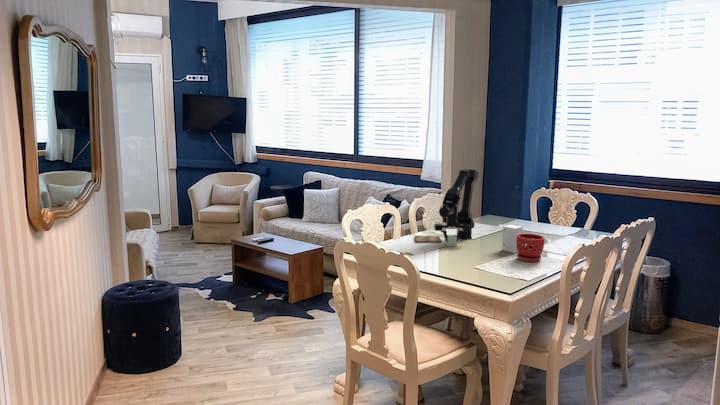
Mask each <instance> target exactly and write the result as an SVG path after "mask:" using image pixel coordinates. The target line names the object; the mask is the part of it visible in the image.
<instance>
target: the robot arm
mask: <svg viewBox="0 0 720 405" xmlns="http://www.w3.org/2000/svg"><path fill="white" fill-rule="evenodd" d="M458 172H459V173H458V176H457V177H456V180H455V182H454V183H453V185H452V187H450V188H449V189H447V191H446V193H445V194H444V198H443V200H442V207H441V208H440V209H439V211H438V213H439V216H440V217H441V218H442V223H434V225H433V227H434V231H437V232H438V231H439V232H440V233H442V234H443V236H444V240H445V244H446V243H447V235H448V234H447V229H448V230H449V229H450V230H455V229H456V234H455V235H456V236H457V242H458V240H459V238H460V239H461V240H462V239H463V240H464V239H465V240H466V239H468V240H469V239H471V240H472V239H473V238H472V229H474V228H475V225H476V224H475V221H474V219H473V214H472V211H471V206H472V199H473V191H474V185H475V184H476V183H477V181H478V178H479V171H478V169H473V168H472V169H471V168H465V169H461V170H459V171H458ZM463 187H464V189H463ZM462 189H463V196H462V195H461V191H462ZM461 196H462V198H461ZM461 199H462V203H461V209H460V211H459V210H458V209H459V205H460V203H459V202H460V200H461ZM444 223H445V225H443V224H444Z"/></svg>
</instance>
